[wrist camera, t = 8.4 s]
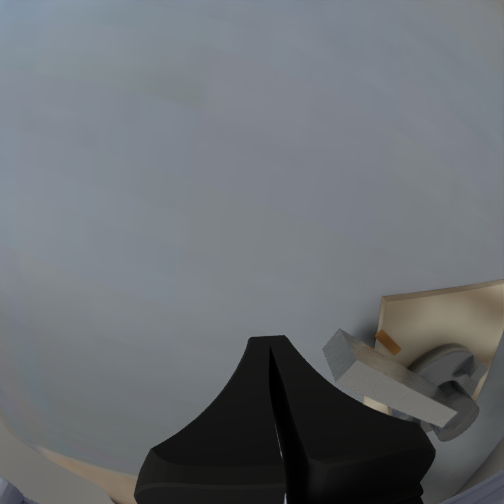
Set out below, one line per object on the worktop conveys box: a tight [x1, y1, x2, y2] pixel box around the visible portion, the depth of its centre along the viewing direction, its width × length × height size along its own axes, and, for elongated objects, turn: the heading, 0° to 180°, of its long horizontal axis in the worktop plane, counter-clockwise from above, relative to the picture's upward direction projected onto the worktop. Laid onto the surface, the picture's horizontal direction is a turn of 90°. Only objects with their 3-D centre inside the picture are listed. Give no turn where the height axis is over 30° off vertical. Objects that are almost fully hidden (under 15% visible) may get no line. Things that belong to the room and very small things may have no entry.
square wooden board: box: [363, 279, 504, 415], centre depth 23 cm, size 16×17×1 cm
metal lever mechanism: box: [322, 328, 488, 442], centre depth 20 cm, size 20×10×6 cm, turn 56°
